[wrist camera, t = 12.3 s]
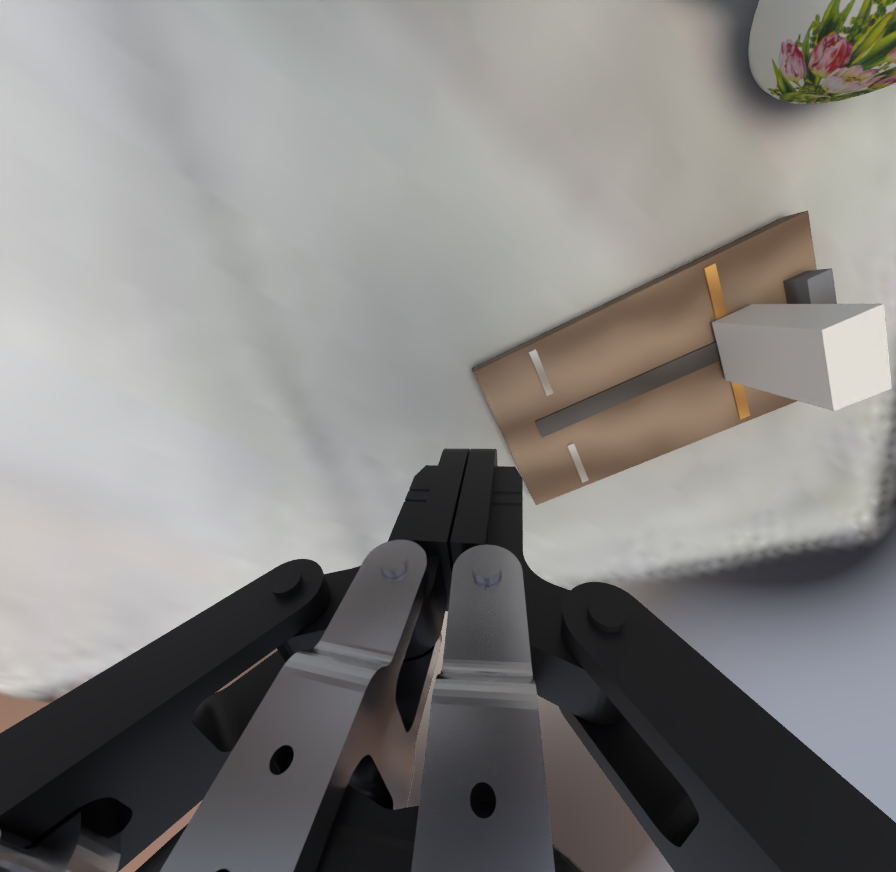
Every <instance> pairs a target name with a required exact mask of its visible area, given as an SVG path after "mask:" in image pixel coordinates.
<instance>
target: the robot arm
mask: <svg viewBox="0 0 896 872" xmlns="http://www.w3.org/2000/svg"><path fill="white" fill-rule="evenodd" d="M445 611H448V619H447V628H446V638H445V648H444V657H443V665H442V670H441V673H440V674H438V675H437V677H436V680H435V684H434V689H433V695H432V702H431V710H430V718H429V727H428V735H427V744H426V752H425V761H424V769H423V777H422V785H421V794H420V803H419V806H415V807H408V808H406V806H407V803H408V799H409V795H410V791H411V786H412V781H413V775H414V767H415V748H416V741H417V735H418V731H419V727H420V723H421V719H422V715H423V712H424V708H425V704H426V700H427V696H428V693H429V689H430V685H431V682H432V678H433V674H434V670H435V666H436V663H437V659H438V655H439V651H440V647H441V642H442V635H441V630H442V624H443V619H444V614H445ZM276 648H277V649H278V651H276V652H275V653H274V654H272V655H271V656H269V657H268V658H267V659H265V660H264V661H263V662H261V663H260V664H259V665H257V666H256V667H255V668H253V669H252V670H250V671H249V672H248V673H246V674H245V675H243V676H242V677H241V678H239V679H238V680H237V681H235V682H234V683H232V684H231V685H230V686H228V687H227V688H225V689H223V690H221V691H219V692H216V691H218V690H219V689H221V688H222V687H223V686H225V685H226V684H228V683H229V682H230V681H232V680H233V679H234V678H236V677H237V676H239V675H240V674H241V673H243V672H244V671H245V670H247V669H248V668H250V667H251V666H252V665H254V664H255V663H256V662H258V661H259V660H261V659H262V658H264V657H265V656H266V655H268V654H269V653H270V652H272V651H273V650H275V649H276ZM215 692H216V693H215ZM537 695H538V696H540V697H542V698H544V699H546V700H548V701H550V702H552V703H554V704H556V705H558V706H559V708H560V710H561V712H562V714H563V716H564V717H565V719H566V720H567V722H568V723H569V724H570V726H571V727H572V728H573V730H574V731H575V733H576V734H577V736H578V737H579V738H580V740H581V741H582V743H583V744H584V745H585V747H586V748H587V750H588V751H589V752H590V754H591V755H592V757H593V758H594V759H595V761H596V762H597V763H598V765H599V766H600V768H601V769H602V771H603V772H604V773H605V775H606V776H607V778H608V779H609V780H610V782H611V783H612V785H613V786H614V787H615V789H616V790H617V792H618V793H619V794H620V796H621V797H622V799H623V800H624V801H625V803H626V804H627V806H628V807H629V808H630V810H631V811H632V813H633V814H634V816H635V817H636V818H637V820H638V821H639V823H640V824H641V825H642V826H643V828H644V830H645V831H646V832H647V834H648V835H649V837H650V838H651V839H652V841H653V842H654V844H655V845H656V846H657V848H658V849H659V851H660V852H661V853H662V855H663V856H664V858H665V859H666V860H667V862H668V863H669V865H670V866H671V867H672V869H673V870H674V872H896V823H895V822H894V821H893V820H892V819H891V818H889V817H888V816H887V815H886V814H885V813H884V812H882V811H881V810H880V809H879V808H878V807H877V806H875V805H874V804H873V803H872V802H871V801H870V800H869V799H867V798H866V797H865V796H864V795H863V794H862V793H860V792H859V791H858V790H857V789H856V788H855V787H854V786H852V785H851V784H850V783H849V782H848V781H846V780H845V779H844V778H843V777H842V776H841V775H840V774H838V773H837V772H836V771H835V770H834V769H833V768H831V767H830V766H829V765H828V764H827V763H826V762H824V761H823V760H822V759H821V758H820V757H819V756H817V755H816V754H815V753H814V752H813V751H812V750H811V749H809V748H808V747H807V746H806V745H804V743H802V742H801V741H800V740H799V739H798V738H797V737H795V736H794V735H793V734H792V733H791V732H790V731H788V730H787V729H786V728H785V727H783V725H782V724H780V723H779V722H778V721H777V720H776V719H774V718H773V717H772V716H771V715H770V714H768V712H766V711H765V710H764V709H763V708H762V707H760V706H759V705H758V704H757V703H756V702H755V701H754V700H752V699H751V698H750V697H749V696H748V695H747V694H746V693H744V692H743V691H742V690H741V689H740V688H739V687H737V686H736V685H735V684H734V683H733V682H732V681H730V680H729V679H728V678H727V677H726V676H725V675H723V674H722V673H721V672H720V671H719V670H718V669H716V668H715V667H714V666H713V665H712V664H711V663H710V662H708V661H707V660H706V659H705V658H704V657H703V656H701V655H700V654H699V653H698V652H697V651H696V650H694V649H693V648H692V647H691V646H690V645H688V644H687V643H686V642H685V641H684V640H683V639H682V638H680V637H679V636H678V635H677V634H676V633H675V632H674V631H672V630H671V629H670V628H669V627H668V626H666V625H665V624H664V623H663V622H662V621H661V620H659V619H658V618H657V617H656V616H655V615H654V614H653V613H651V612H650V611H649V610H648V609H647V608H646V607H644V606H643V605H642V604H641V603H640V602H639V601H637V600H636V599H635V598H634V597H633V596H631V595H630V594H629V593H627V592H626V591H624V590H622V589H621V588H618V587H616V586H614V585H610V584H607V583H601V582H588V583H584V584H580V585H578V586H576V587H575V588H573V589H572V590H571V591H570V590H567V589H565V588H562V587H559V586H556V585H554V584H551V583H549V582H547V581H545V580H543V579H541V578H540V577H539V576H537V575H536V574H535V573H534V572H533V571H532V570H531V569H530V568H529V566H528V565H527V563H526V561H525V559H524V556H523V520H522V477H521V476H520V474H519V473H518V471H517V470H516V468H515V467H500V466H497V450H496V449H471V450H470V449H444V450H443V452H442V455H441V458H440V461H439V464H438V466H428V465H426V466H425V467H424V468H423V469H422V470H421V471H420V472H419V473H418V474H417V475H415V477H414V479H413V482H412V484H411V486H410V491H408V494H407V496H406V499H405V502H404V503H403V506H402V508H401V511H400V513H399V516H398V518H397V520H396V523H395V525H394V528H393V530H392V533H391V535H390V537H389V540H388V542H386V543H383V544H381V545H379V546H378V547H376V548H375V549H373V550H372V551H371V552H370V553H369V554H368V555H367V557H366V558H365V560H364V561H363V563H362V565H361V566H359V567H356V568H352V569H348V570H343V571H338V572H333V573H329V574H324V573H323V571H322V569H321V567H320V566H319V565H318V564H317V563H316V562H314V561H312V560H308V559H297V560H292V561H289V562H286V563H284V564H282V565H280V566H278V567H276V568H274V569H273V570H271V571H269V572H268V573H266V574H264V575H263V576H261V577H259V578H258V579H256V580H254V581H253V582H251V583H249V584H248V585H246V586H244V587H243V588H241V589H239V590H238V591H236V592H234V593H233V594H231V595H230V596H228V597H226V598H225V599H223V600H221V601H220V602H218V603H216V604H215V605H213V606H211V607H210V608H208V609H206V610H205V611H203V612H201V613H200V614H198V615H196V616H195V617H193V618H191V619H190V620H188V621H186V622H185V623H183V624H181V625H180V626H178V627H176V628H175V629H173V630H171V631H170V632H168V633H166V634H165V635H163V636H161V637H160V638H158V639H156V640H155V641H153V642H151V643H150V644H148V645H146V646H145V647H143V648H141V649H140V650H138V651H137V652H135V653H133V654H132V655H130V656H128V657H127V658H125V659H123V660H122V661H120V662H118V663H117V664H115V665H113V666H112V667H110V668H108V669H107V670H105V671H103V672H102V673H100V674H98V675H97V676H95V677H93V678H92V679H90V680H88V681H87V682H85V683H83V684H82V685H80V686H78V687H77V688H75V689H73V690H72V691H70V692H68V693H67V694H65V695H63V696H62V697H60V698H58V699H57V700H55V701H53V702H52V703H50V704H48V705H47V706H45V707H43V708H42V709H40V710H39V711H37V712H35V713H34V714H32V715H30V716H29V717H27V718H25V719H24V720H22V721H20V722H19V723H17V724H15V725H14V726H12V727H10V728H9V729H7V730H5V731H4V732H2V733H0V872H118V871H120V870H121V869H122V868H123V867H124V866H125V865H127V864H128V863H129V862H130V861H131V860H132V859H134V858H135V857H136V856H137V855H138V854H139V853H141V852H142V851H143V850H144V849H145V848H147V847H148V846H149V845H150V844H151V843H152V842H154V841H155V840H156V839H157V838H158V837H159V836H161V835H162V834H163V833H164V832H165V831H166V830H168V829H169V828H170V827H171V826H172V825H173V824H174V823H176V822H177V821H178V820H179V819H180V818H182V817H183V816H184V815H185V814H186V813H187V812H189V811H190V810H191V809H192V808H193V807H194V806H196V805H197V804H198V803H199V802H200V801H201V800H202V802H201V804H200V805H199V807H198V809H197V810H196V812H195V814H194V815H193V817H192V819H191V820H190V822H189V823H188V824H187V825H186V826H185V827H184V828H183V829H182V830H180V831H179V832H178V833H177V834H176V835H175V836H174V837H172V838H171V839H170V840H169V841H168V842H167V843H166V844H165V845H164V846H163V847H161V849H159V850H158V851H157V852H156V853H155V854H154V855H153V856H152V857H151V858H149V859H148V860H147V861H146V862H145V863H144V864H143V865H142V866H141V867H140V868H138V869H137V870H136V871H135V872H584V871H583V870H582V869H581V868H580V867H578V865H577V864H576V863H575V862H574V861H573V860H572V859H571V858H570V857H569V856H567V855H566V854H565V853H563V852H562V851H561V850H560V849H559V848H557V847H556V846H555V845H554V844H552V836H551V828H550V827H551V826H550V816H549V806H548V796H547V787H546V777H545V767H544V757H543V748H542V738H541V728H540V718H539V708H538V699H537Z"/></svg>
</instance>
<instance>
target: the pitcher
mask: <svg viewBox="0 0 896 872" xmlns="http://www.w3.org/2000/svg"><path fill="white" fill-rule="evenodd" d="M748 60H749V66H750V70H751V73H752V76H753V78H754V80H755V82H756V83H757V84H758V86H759V87H760V88H761V89H762V90H763V91H765V92H766V93H768V94H770V95H771V96H773V97H774V98H776V99H779V100H781V101H784V102H789V103H794V104H818V103H827V102H833V101H839V100H843V99H847V98H851V97H855V96H859V95H863V94H866V93H869V92H872V91H875V90H878V89H881V88H884V87H886V86H889V85H891V84H894V83H896V0H759V2H758V6H757V9H756V12H755V15H754V19H753V23H752V27H751V32H750V39H749V45H748Z"/></svg>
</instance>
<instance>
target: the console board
mask: <svg viewBox="0 0 896 872" xmlns="http://www.w3.org/2000/svg"><path fill="white" fill-rule="evenodd" d="M751 304H837V302H836V294H835V287H834V279H833V272H832V269H821V270H817V269H816V262H815V256H814V249H813V242H812V235H811V228H810V221H809V215H808V211H804V212H801V213H797V214H793V215H790V216H786V217H783V218H781V219H779V220H777V221H775V222H773V223H771V224H769V225H766V226H764V227H762V228H760V229H758V230H756V231H754V232H752V233H750V234H748V235H746V236H744V237H742V238H740V239H738V240H736V241H734V242H731V243H729V244H727V245H725V246H723V247H721V248H719V249H717V250H715V251H713V252H711V253H709V254H707V255H705V256H703V257H701V258H698V259H696V260H694V261H692V262H690V263H688V264H686V265H684V266H682V267H680V268H678V269H676V270H674V271H672V272H670V273H668V274H666V275H663V276H661V277H659V278H657V279H655V280H653V281H651V282H649V283H647V284H645V285H643V286H641V287H639V288H637V289H635V290H633V291H630V292H628V293H626V294H624V295H622V296H620V297H618V298H616V299H614V300H612V301H610V302H608V303H606V304H604V305H602V306H600V307H598V308H595V309H593V310H591V311H589V312H587V313H585V314H583V315H581V316H579V317H577V318H575V319H573V320H571V321H569V322H567V323H565V324H563V325H560V326H558V327H556V328H554V329H552V330H550V331H548V332H546V333H544V334H542V335H540V336H538V337H536V338H534V339H532V340H530V341H527V342H525V343H523V344H521V345H519V346H517V347H515V348H513V349H511V350H509V351H507V352H505V353H503V354H501V355H499V356H497V357H495V358H492V359H490V360H488V361H486V362H484V363H482V364H480V365H478V366H476V367H474V368H473V373H474V375H475V377H476V379H477V381H478V383H479V385H480V387H481V390H482V392H483V394H484V396H485V398H486V400H487V402H488V404H489V407H490V409H491V411H492V413H493V415H494V417H495V419H496V421H497V424H498V426H499V428H500V430H501V432H502V434H503V436H504V439H505V441H506V443H507V445H508V447H509V449H510V451H511V453H512V456H513V458H514V460H515V462H516V464H517V466H518V468H519V470H520V473H521V475H522V477H523V479H524V481H525V483H526V485H527V487H528V490H529V492H530V494H531V496H532V498H533V500H534V502H535V504H536V505H538V504H540V503H543V502H545V501H548V500H550V499H553V498H555V497H558V496H560V495H563V494H565V493H568V492H570V491H573V490H575V489H578V488H580V487H583V486H585V485H588V484H590V483H593V482H595V481H598V480H600V479H603V478H605V477H608V476H610V475H613V474H616V473H618V472H621V471H623V470H626V469H628V468H631V467H633V466H636V465H638V464H641V463H643V462H646V461H648V460H651V459H653V458H656V457H658V456H661V455H663V454H666V453H668V452H671V451H673V450H676V449H678V448H681V447H683V446H686V445H688V444H691V443H693V442H696V441H698V440H701V439H703V438H706V437H708V436H711V435H713V434H716V433H718V432H721V431H723V430H726V429H728V428H731V427H733V426H736V425H738V424H741V423H743V422H746V421H748V420H751V419H753V418H756V417H758V416H761V415H763V414H766V413H768V412H771V411H774V410H776V409H779V408H781V407H784V406H786V405H789V404H791V403H794V402H796V401H797V400H793V399H790V398H786V397H783V396H779V395H776V394H772V393H769V392H765V391H762V390H758V389H755V388H751V387H748V386H744V385H740V384H737V383H733V382H730V381H726V379H725V375H724V371H723V367H722V363H721V358H720V354H719V350H718V346H717V342H716V338H715V334H714V330H713V326H712V322H714V321H716V320H718V319H720V318H723V317H725V316H727V315H729V314H732V313H734V312H736V311H738V310H740V309H743V308H745V307H747V306H749V305H751Z"/></svg>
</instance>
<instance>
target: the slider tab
mask: <svg viewBox="0 0 896 872" xmlns="http://www.w3.org/2000/svg"><path fill="white" fill-rule="evenodd" d="M712 326H713V330H714V334H715V338H716V342H717V346H718V350H719V354H720V358H721V363H722V367H723V371H724V375H725V379H726V381H730V382H733V383H737V384H740V385H744V386H748V387H751V388H755V389H758V390H762V391H765V392H769V393H772V394H776V395H779V396H783V397H786V398H790V399H793V400H797V401H800V402H804V403H807V404H811V405H814V406H818V407H822V408H825V409H829V410H832V411H835V410H838V409H840V408H843V407H845V406H848V405H851V404H853V403H856V402H858V401H861V400H864V399H866V398H869V397H871V396H874V395H876V394H879V393H882V392H884V391H887V390H889V389H892V388H891V377H890V366H889V355H888V345H887V334H886V323H885V313H884V304H751V305H749V306H747V307H745V308H743V309H740V310H738V311H736V312H734V313H732V314H729V315H727V316H725V317H723V318H720V319H718V320H716V321H714V322H712Z"/></svg>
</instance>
